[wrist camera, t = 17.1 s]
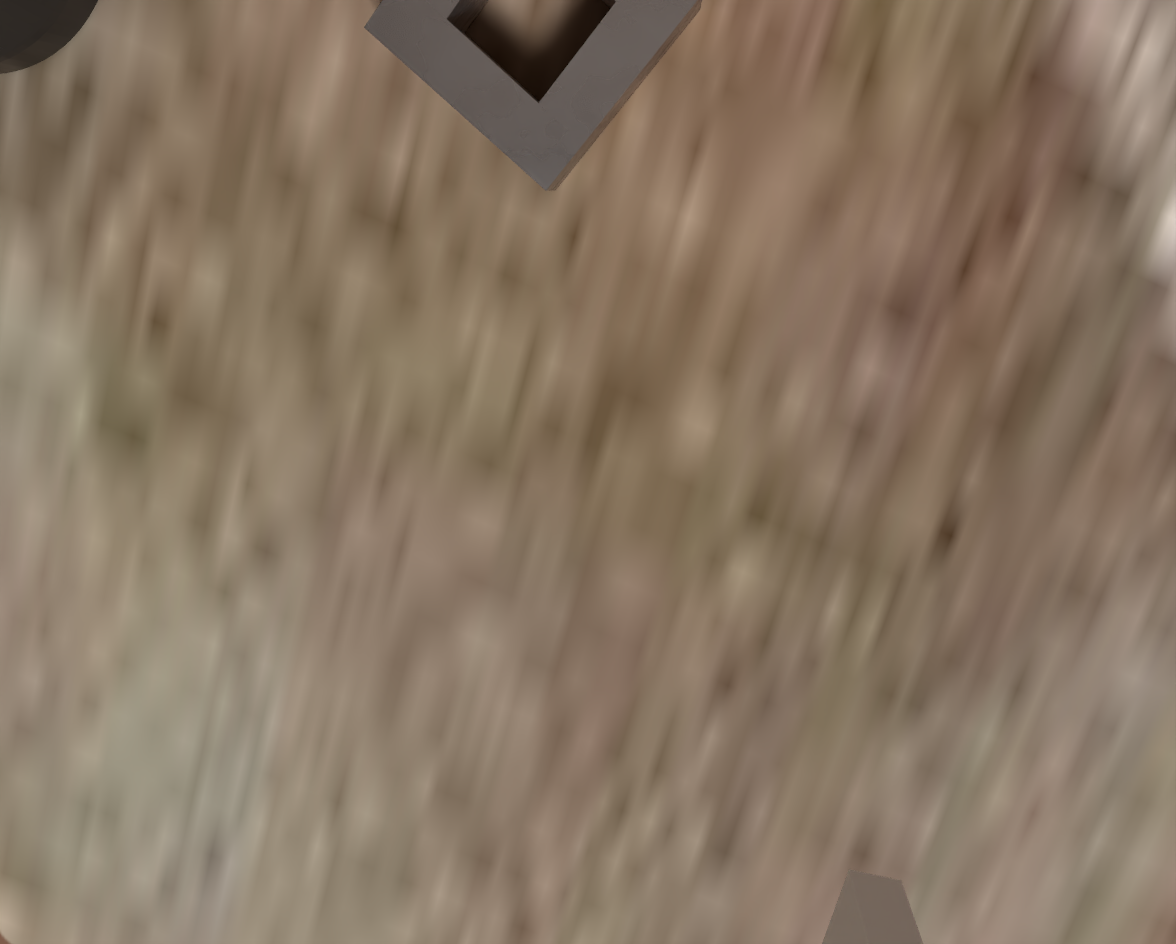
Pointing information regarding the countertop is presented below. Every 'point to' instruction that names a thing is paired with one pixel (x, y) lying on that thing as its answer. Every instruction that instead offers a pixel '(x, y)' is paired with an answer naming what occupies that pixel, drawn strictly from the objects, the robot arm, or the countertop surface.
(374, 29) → the socket block
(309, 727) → the countertop surface
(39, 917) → the countertop surface
